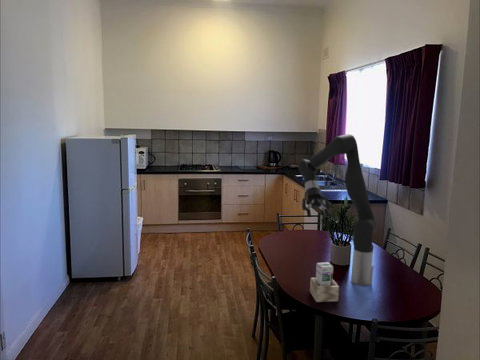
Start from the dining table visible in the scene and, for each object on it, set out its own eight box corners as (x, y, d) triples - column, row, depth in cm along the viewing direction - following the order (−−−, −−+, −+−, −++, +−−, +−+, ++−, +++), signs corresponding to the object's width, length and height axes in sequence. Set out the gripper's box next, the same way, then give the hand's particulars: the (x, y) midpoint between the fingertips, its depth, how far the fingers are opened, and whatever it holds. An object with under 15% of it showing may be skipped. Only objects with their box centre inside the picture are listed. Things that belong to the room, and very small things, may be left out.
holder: (330, 291, 184) (331, 277, 182) (338, 301, 174) (339, 286, 173) (309, 291, 182) (310, 277, 181) (316, 301, 172) (317, 287, 171)
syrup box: (319, 297, 175) (322, 267, 172) (314, 291, 180) (316, 262, 178) (331, 296, 176) (333, 266, 173) (325, 290, 181) (328, 261, 179)
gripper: (301, 186, 205) (306, 213, 196) (327, 186, 207) (333, 213, 197) (298, 194, 211) (302, 220, 202) (323, 194, 213) (329, 220, 204)
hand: (318, 216), depth 200 cm, fingers open, 8 cm apart
